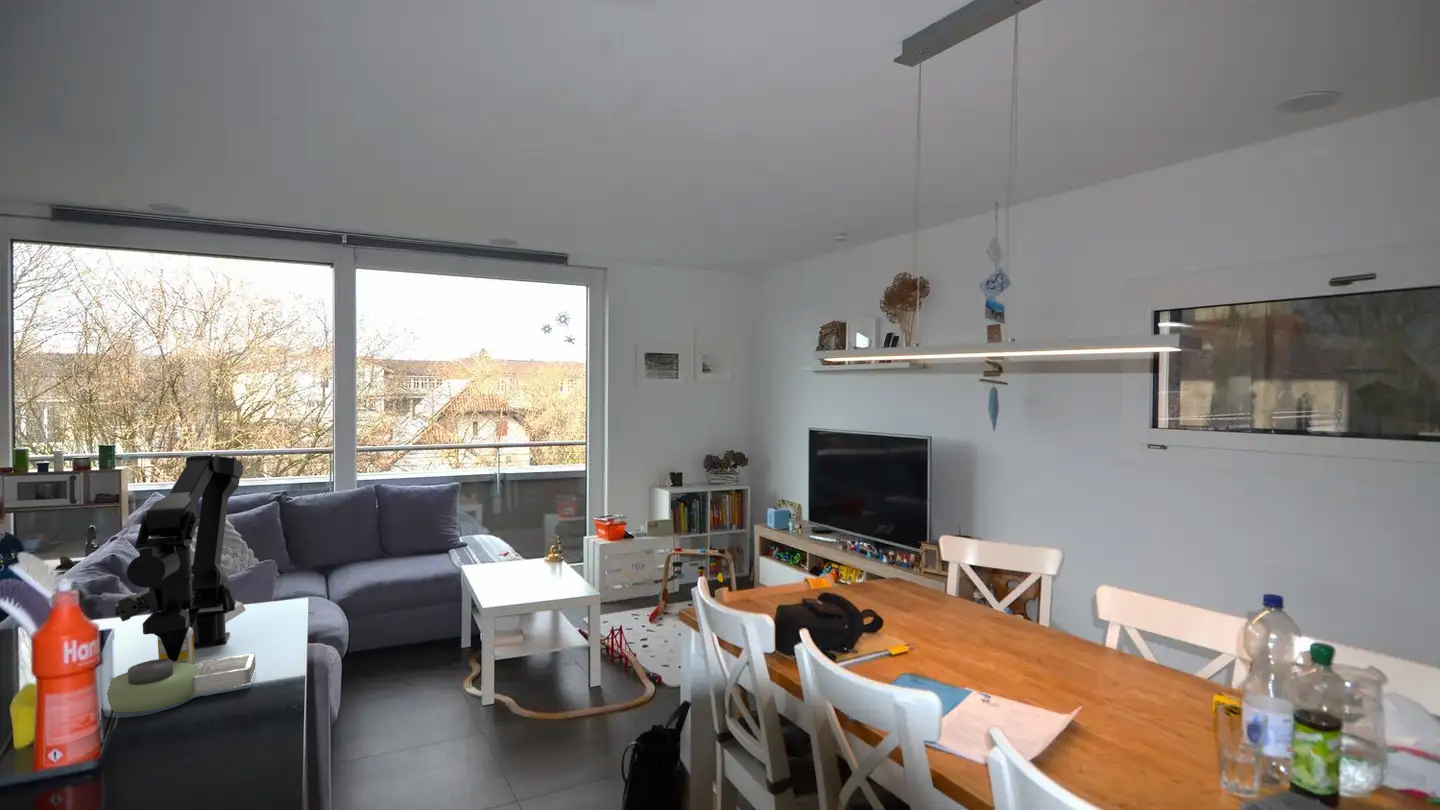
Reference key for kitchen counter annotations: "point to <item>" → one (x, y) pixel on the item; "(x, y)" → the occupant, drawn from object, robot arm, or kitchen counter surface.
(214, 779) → the kitchen counter surface
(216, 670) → the white open tray
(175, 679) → the green base with knob
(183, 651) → the supplement bottle
